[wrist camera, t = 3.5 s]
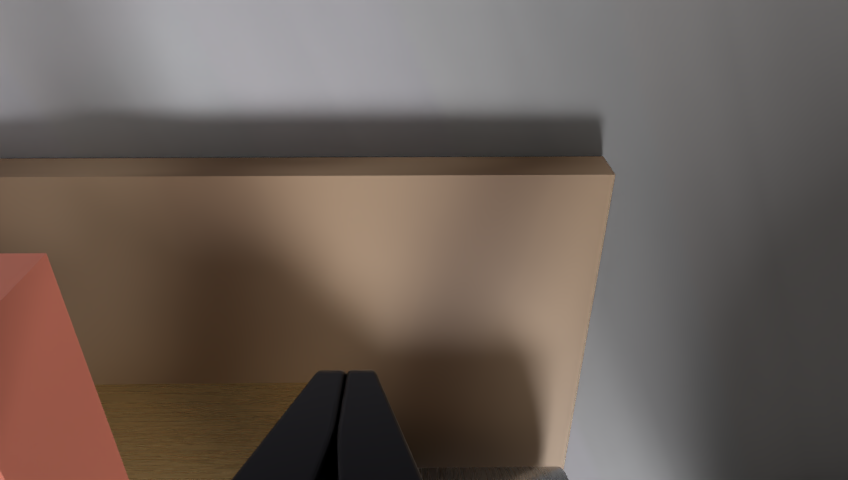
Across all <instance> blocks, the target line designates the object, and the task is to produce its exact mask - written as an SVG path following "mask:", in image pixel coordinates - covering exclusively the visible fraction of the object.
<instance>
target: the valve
mask: <svg viewBox="0 0 848 480" xmlns="http://www.w3.org/2000/svg"><path fill="white" fill-rule="evenodd" d="M306 385H307V383H213V384H100V385H95V388H96V391H97V393H98V396H99V399H100V402H101V404H102V407H103V410H104V412H105V415H106V418H107V421H108V423H109V426H110V429H111V432H112V434H113V437H114V440H115V443H116V445H117V448H118V451H119V454H120V456H121V459H122V462H123V465H124V467H125V470H126V473H127V476H128V478H129V480H232V478H233V477H234V476H235V475H236V473H237V472H238V471H239V470H240V468H241V467H242V466H243V465H244V463H245V462H246V461H247V459H248V458H249V457H250V456H251V454H252V453H253V452H254V451H255V449H256V448H257V447H258V446H259V444H260V443H261V442H262V440H263V439H264V438H265V437H266V435H267V434H268V433H269V432H270V430H271V429H272V428H273V427H274V425H275V424H276V423H277V421H278V420H279V419H280V418H281V416H282V415H283V414H284V413H285V411H286V410H287V409H288V408H289V406H290V405H291V404H292V402H293V401H294V400H295V399H296V397H297V396H298V395H299V394H300V392H301V391H302V390H303V389H304V387H305V386H306ZM418 470H419V472H420V474H421V476H422V479H423V480H568V478H567V476H566V474H565V472H564V471H563V469H562V468H561V467H558V466H544V467H452V468H418Z"/></svg>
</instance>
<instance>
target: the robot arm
mask: <svg viewBox="0 0 848 480" xmlns="http://www.w3.org/2000/svg"><path fill="white" fill-rule="evenodd" d="M232 480H423V479H422V476H421V474H420V472H419V470H418V467H417V465H416V463H415V460H414V458H413V456H412V453H411V451H410V449H409V447H408V444H407V442H406V440H405V437H404V435H403V433H402V431H401V428H400V426H399V424H398V421H397V419H396V417H395V414H394V412H393V410H392V408H391V405H390V403H389V401H388V398H387V396H386V394H385V391H384V389H383V387H382V385H381V382H380V380H379V378H378V375H377V373H376V372H375V371H374V370H350V371H348V373H347V374H346V372H345V371H343V370H320V371H318V372H316V373H315V375H314V376H313V377H312V378H311V380H310V381H309V382H308V383H307V385H306V386H305V387H304V389H303V390H302V391H301V392H300V394H299V395H298V396H297V397H296V399H295V400H294V401H293V402H292V404H291V405H290V406H289V408H288V409H287V410H286V411H285V413H284V414H283V415H282V416H281V418H280V419H279V420H278V421H277V423H276V424H275V425H274V427H273V428H272V429H271V430H270V432H269V433H268V434H267V435H266V437H265V438H264V439H263V440H262V442H261V443H260V444H259V446H258V447H257V448H256V449H255V451H254V452H253V453H252V454H251V456H250V457H249V458H248V459H247V461H246V462H245V463H244V465H243V466H242V467H241V468H240V470H239V471H238V472H237V473H236V475H235V476H234V477H233V478H232Z"/></svg>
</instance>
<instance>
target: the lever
mask: <svg viewBox="0 0 848 480" xmlns="http://www.w3.org/2000/svg"><path fill="white" fill-rule="evenodd" d="M0 480H129V478H128V476H127V473H126V470H125V467H124V465H123V462H122V459H121V456H120V454H119V451H118V448H117V445H116V443H115V440H114V437H113V434H112V432H111V429H110V426H109V423H108V421H107V418H106V415H105V412H104V410H103V407H102V404H101V402H100V399H99V396H98V393H97V391H96V388H95V385H94V382H93V380H92V377H91V374H90V371H89V369H88V366H87V363H86V360H85V358H84V355H83V352H82V349H81V347H80V344H79V341H78V338H77V336H76V333H75V330H74V328H73V325H72V322H71V319H70V317H69V314H68V311H67V308H66V306H65V303H64V300H63V297H62V295H61V292H60V289H59V286H58V284H57V281H56V278H55V275H54V273H53V270H52V267H51V265H50V262H49V259H48V256H47V254H46V253H0Z"/></svg>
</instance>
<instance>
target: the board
mask: <svg viewBox="0 0 848 480" xmlns="http://www.w3.org/2000/svg"><path fill="white" fill-rule="evenodd" d="M614 179H615V174H614V172H613V171H612V169H611V167H610V166H609V164H608V163H607V161H606V160H605V158H604V157H603V156H574V157H295V158H15V159H0V253H46V254H47V256H48V259H49V262H50V265H51V267H52V270H53V273H54V275H55V278H56V281H57V284H58V286H59V289H60V292H61V295H62V297H63V300H64V303H65V306H66V308H67V311H68V314H69V317H70V319H71V322H72V325H73V328H74V330H75V333H76V336H77V338H78V341H79V344H80V347H81V349H82V352H83V355H84V358H85V360H86V363H87V366H88V369H89V371H90V374H91V377H92V380H93V382H94V385H100V384H213V383H308V382H309V381H310V380H311V378H312V377H313V376H314V375H315V373H316V372H318V371H320V370H343V371H345V372H346V374H347V373H348V371H350V370H374V371H375V372H376V373H377V375H378V378H379V380H380V382H381V385H382V387H383V389H384V391H385V394H386V396H387V398H388V401H389V403H390V405H391V408H392V410H393V412H394V414H395V417H396V419H397V421H398V424H399V426H400V428H401V431H402V433H403V435H404V437H405V440H406V442H407V444H408V447H409V449H410V451H411V453H412V456H413V458H414V460H415V463H416V465H417V467H418V468H452V467H544V466H558V467H561V468H562V469H564V463H565V457H566V452H567V446H568V440H569V435H570V429H571V423H572V418H573V412H574V406H575V401H576V395H577V389H578V384H579V378H580V372H581V367H582V361H583V355H584V349H585V344H586V338H587V332H588V327H589V321H590V315H591V310H592V304H593V298H594V293H595V287H596V281H597V276H598V270H599V264H600V259H601V253H602V247H603V242H604V236H605V230H606V225H607V219H608V213H609V208H610V202H611V196H612V191H613V185H614Z"/></svg>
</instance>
